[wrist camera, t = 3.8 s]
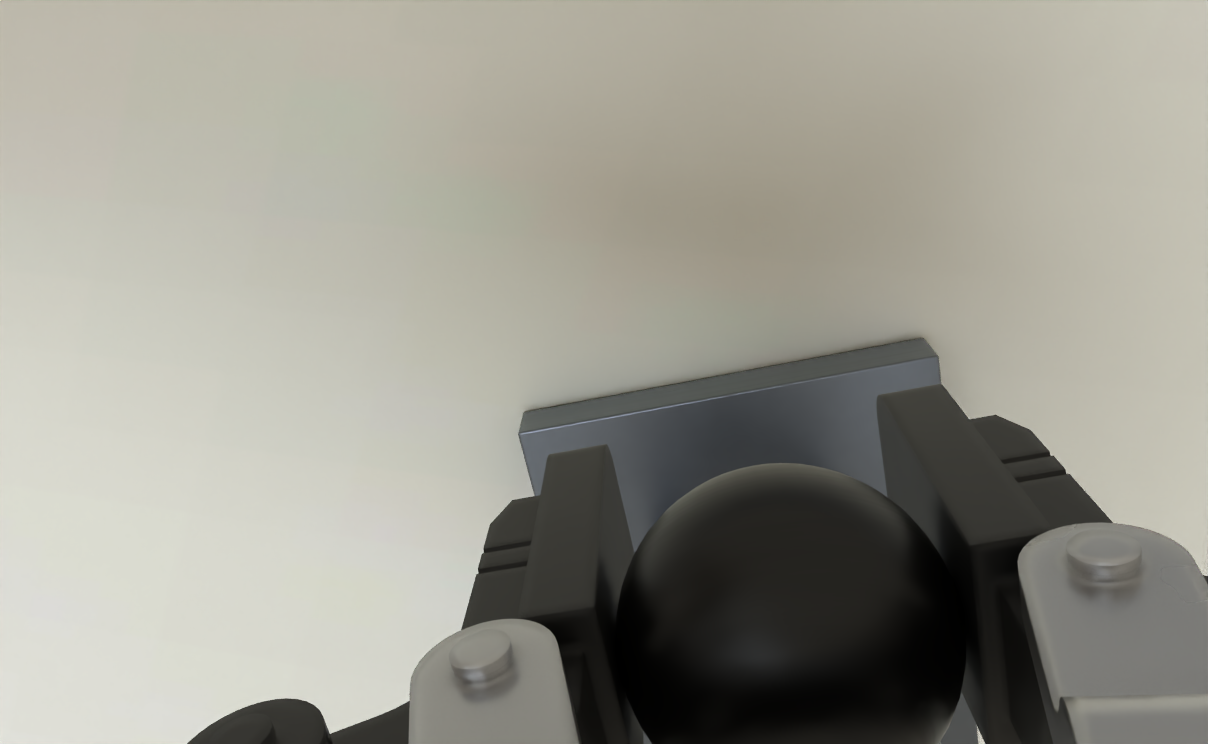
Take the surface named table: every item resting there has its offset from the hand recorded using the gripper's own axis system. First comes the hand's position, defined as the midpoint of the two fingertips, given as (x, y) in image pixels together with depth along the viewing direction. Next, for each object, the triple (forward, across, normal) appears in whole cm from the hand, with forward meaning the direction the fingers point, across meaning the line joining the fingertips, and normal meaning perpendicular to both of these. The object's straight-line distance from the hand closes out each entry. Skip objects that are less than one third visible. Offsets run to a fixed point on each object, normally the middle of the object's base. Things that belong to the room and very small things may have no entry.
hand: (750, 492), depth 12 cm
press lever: (0, 0, +4) cm, 4 cm away
